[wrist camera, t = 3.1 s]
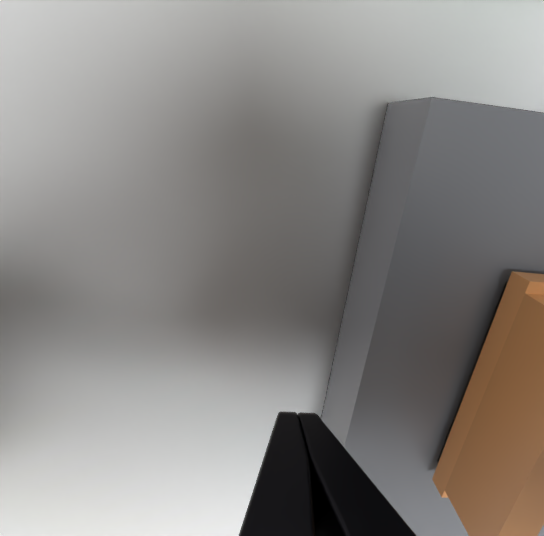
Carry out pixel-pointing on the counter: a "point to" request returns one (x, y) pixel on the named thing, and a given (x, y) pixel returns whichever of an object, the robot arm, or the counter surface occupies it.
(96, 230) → the counter surface
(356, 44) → the counter surface
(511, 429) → the shutter
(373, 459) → the socket
